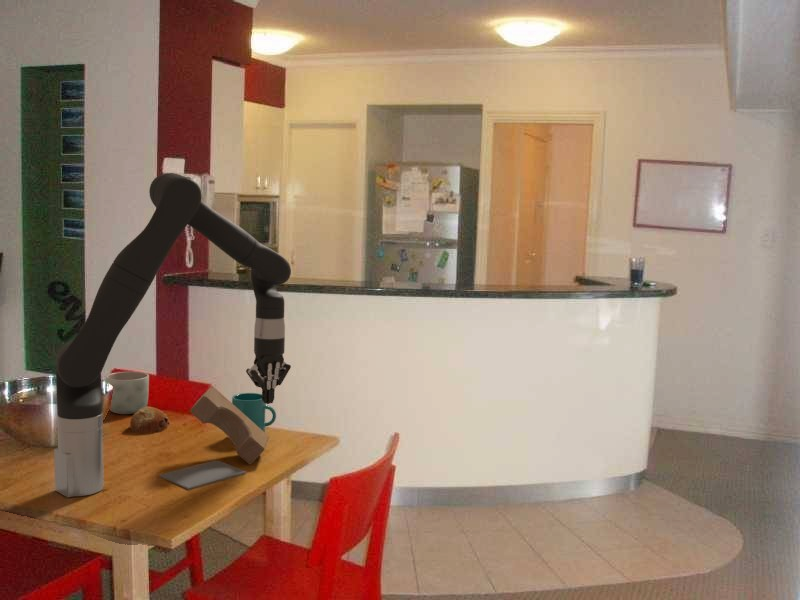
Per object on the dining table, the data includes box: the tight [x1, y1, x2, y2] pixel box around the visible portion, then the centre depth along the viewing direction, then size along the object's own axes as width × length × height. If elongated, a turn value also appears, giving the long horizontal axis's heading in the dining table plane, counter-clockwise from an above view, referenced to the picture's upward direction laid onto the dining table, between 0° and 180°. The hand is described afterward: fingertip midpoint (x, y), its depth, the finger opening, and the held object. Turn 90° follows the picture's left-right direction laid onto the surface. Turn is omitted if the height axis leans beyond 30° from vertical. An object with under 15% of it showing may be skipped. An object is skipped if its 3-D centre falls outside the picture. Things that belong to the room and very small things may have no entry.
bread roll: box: [129, 405, 170, 434], centre depth 227 cm, size 10×10×8 cm
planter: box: [105, 371, 150, 415], centre depth 244 cm, size 12×12×11 cm
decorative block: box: [189, 386, 270, 465], centre depth 203 cm, size 11×6×20 cm
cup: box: [231, 392, 277, 433], centre depth 222 cm, size 9×12×11 cm
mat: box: [159, 459, 247, 491], centre depth 191 cm, size 16×12×1 cm
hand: (268, 402), depth 204 cm, fingers closed
